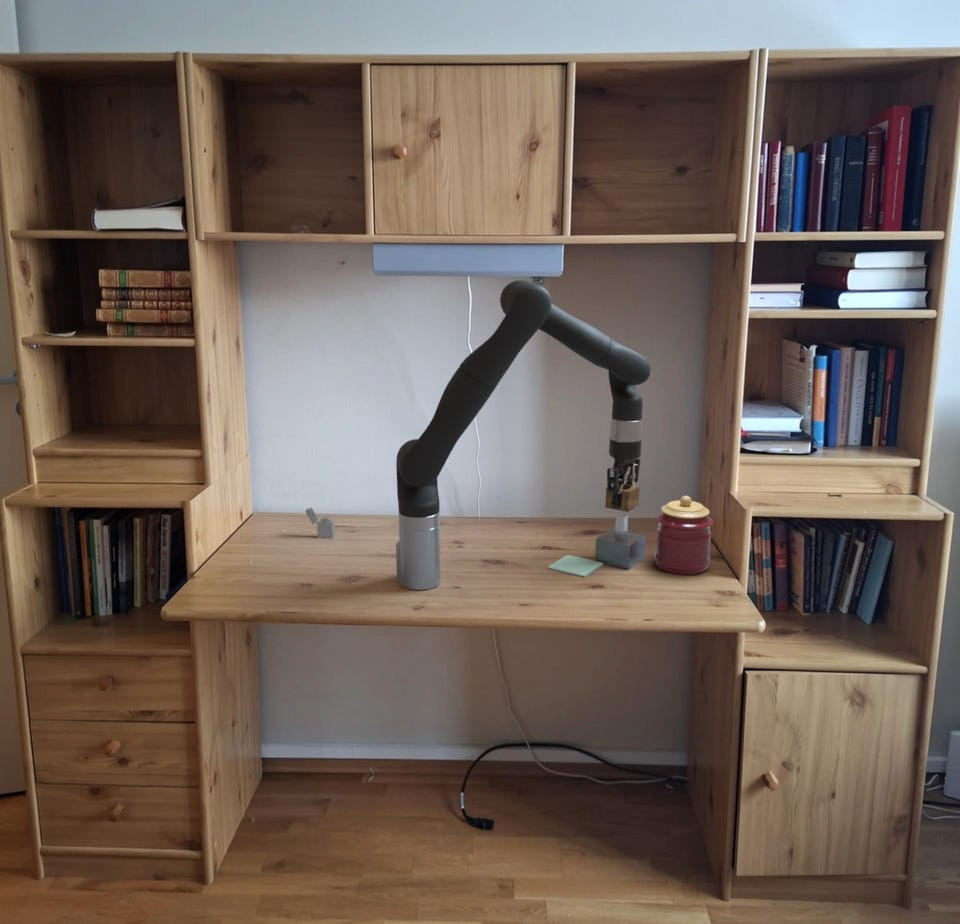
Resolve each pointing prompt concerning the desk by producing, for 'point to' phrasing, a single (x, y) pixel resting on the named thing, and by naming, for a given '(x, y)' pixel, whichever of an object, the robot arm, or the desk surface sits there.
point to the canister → (683, 537)
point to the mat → (575, 565)
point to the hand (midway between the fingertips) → (621, 504)
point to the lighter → (321, 525)
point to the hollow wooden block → (625, 498)
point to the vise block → (620, 545)
